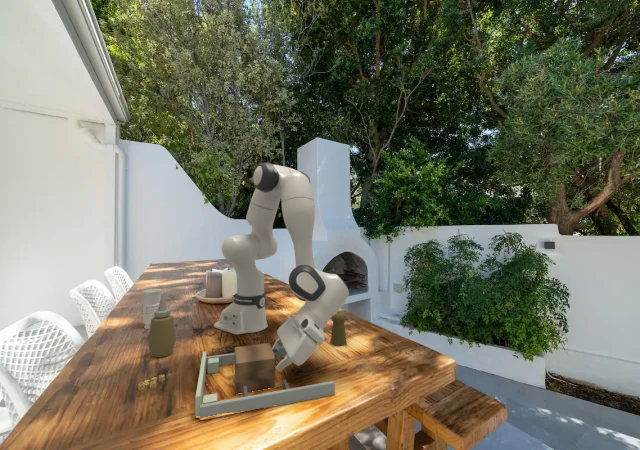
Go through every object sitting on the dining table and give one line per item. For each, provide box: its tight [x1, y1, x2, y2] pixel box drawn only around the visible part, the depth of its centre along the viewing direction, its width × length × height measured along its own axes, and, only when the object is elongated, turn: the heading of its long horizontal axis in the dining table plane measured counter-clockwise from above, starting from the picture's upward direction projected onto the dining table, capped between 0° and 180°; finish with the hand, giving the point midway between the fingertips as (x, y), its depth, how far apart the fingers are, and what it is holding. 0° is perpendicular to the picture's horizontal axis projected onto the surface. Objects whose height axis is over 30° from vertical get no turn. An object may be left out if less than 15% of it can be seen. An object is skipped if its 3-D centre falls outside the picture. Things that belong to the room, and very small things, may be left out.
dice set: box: [137, 373, 166, 391], centre depth 76 cm, size 5×5×2 cm
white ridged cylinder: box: [142, 288, 163, 330], centre depth 119 cm, size 7×7×15 cm
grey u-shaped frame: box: [199, 346, 336, 419], centre depth 79 cm, size 32×25×3 cm
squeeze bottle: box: [147, 298, 177, 358], centre depth 94 cm, size 8×8×18 cm
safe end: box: [194, 351, 220, 417], centre depth 75 cm, size 4×23×5 cm, turn 19°
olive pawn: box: [330, 311, 347, 347], centre depth 104 cm, size 6×6×11 cm
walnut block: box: [234, 342, 276, 395], centre depth 78 cm, size 10×10×8 cm
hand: (274, 360), depth 80 cm, fingers open, 8 cm apart
